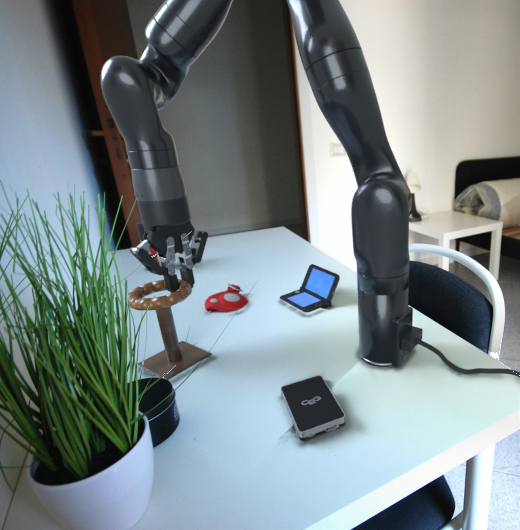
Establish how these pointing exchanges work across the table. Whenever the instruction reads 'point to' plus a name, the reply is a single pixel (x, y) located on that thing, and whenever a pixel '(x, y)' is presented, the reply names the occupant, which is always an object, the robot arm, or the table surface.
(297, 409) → the external hard drive
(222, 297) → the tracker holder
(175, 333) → the peg
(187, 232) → the robot arm
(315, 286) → the handheld console
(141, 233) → the deodorant
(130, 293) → the brown lumpy ring
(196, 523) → the table surface
